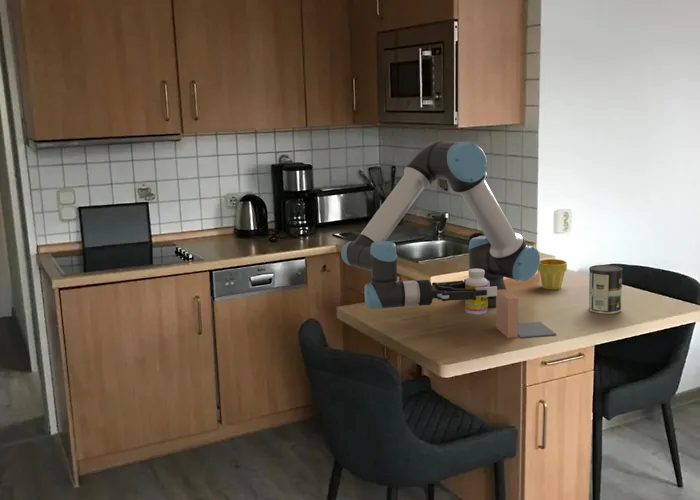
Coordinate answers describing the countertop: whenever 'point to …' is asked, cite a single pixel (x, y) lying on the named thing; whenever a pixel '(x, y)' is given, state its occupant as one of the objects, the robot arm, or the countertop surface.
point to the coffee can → (605, 289)
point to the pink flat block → (507, 313)
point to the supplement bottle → (473, 282)
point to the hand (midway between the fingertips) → (492, 288)
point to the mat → (533, 330)
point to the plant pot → (552, 273)
